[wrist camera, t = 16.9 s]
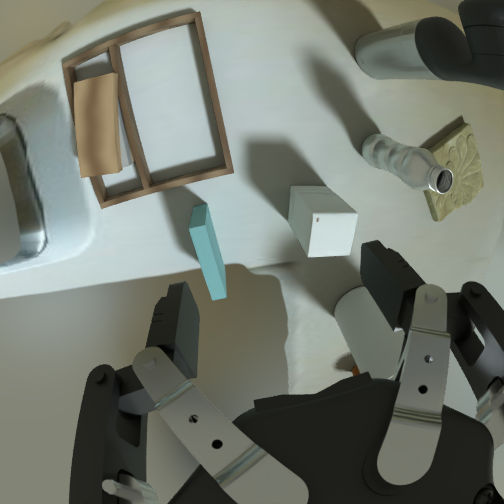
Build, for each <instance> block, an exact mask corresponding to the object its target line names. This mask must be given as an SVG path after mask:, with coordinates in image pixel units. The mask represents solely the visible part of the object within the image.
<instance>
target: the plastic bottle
mask: <svg viewBox="0 0 504 504" xmlns="http://www.w3.org/2000/svg"><path fill="white" fill-rule="evenodd" d="M362 155H363V158H364V159H365V161H366V162H367V163H368V164H369V165H371V166H372V167H374V168H378V169H382V170H386V171H389V172H391V173H393V174H394V175H396V176H397V177H399V178H400V179H401V180H402V181H403V182H404V183H405V184H407V185H408V186H409V187H410V188H412V189H414V190H420V191H423V190H427V189H431V190H433V191H436V192H438V193H440V194H445V193H447V192H448V191H449V190H450V189H451V187H452V185H453V174H452V172H451V170H449V169H448V168H446V167H444V166H443V165H441V164H439V163H438V161H437V159H436V157H435V156H434V155H433V154H432V153H431V152H430V151H428V150H427V149H424V148H419V147H412V146H407V145H403V144H400V143H398V142H396V141H394V140H392V139H391V138H389V137H388V136H386V135H383V134H373V135H370V136H368V137H367V138H366V139H365V141H364V142H363V145H362Z"/></svg>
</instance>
